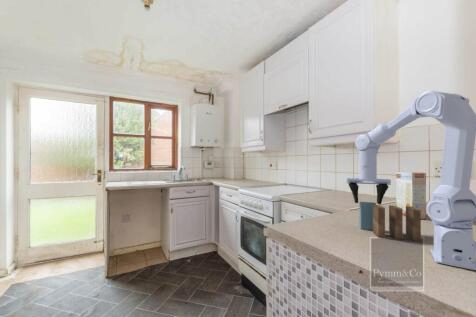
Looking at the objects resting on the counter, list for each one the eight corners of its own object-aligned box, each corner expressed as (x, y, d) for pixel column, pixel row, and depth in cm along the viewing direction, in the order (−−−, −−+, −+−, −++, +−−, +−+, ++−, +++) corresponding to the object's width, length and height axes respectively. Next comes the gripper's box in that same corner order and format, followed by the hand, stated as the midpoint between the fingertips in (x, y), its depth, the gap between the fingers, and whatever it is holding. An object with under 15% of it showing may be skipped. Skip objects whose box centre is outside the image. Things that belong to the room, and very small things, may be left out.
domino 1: (376, 230, 80) (376, 203, 80) (360, 229, 81) (361, 202, 81) (374, 229, 82) (374, 202, 82) (359, 227, 83) (359, 201, 83)
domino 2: (379, 233, 77) (379, 204, 77) (385, 238, 72) (385, 207, 72) (373, 232, 77) (372, 204, 77) (378, 237, 72) (378, 207, 73)
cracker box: (427, 219, 97) (426, 172, 97) (411, 219, 98) (411, 172, 98) (409, 212, 110) (409, 171, 111) (395, 212, 112) (395, 171, 112)
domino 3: (395, 234, 75) (395, 205, 76) (402, 239, 71) (402, 208, 71) (389, 234, 76) (389, 205, 76) (395, 238, 71) (395, 208, 71)
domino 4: (412, 236, 74) (412, 206, 74) (420, 241, 69) (420, 209, 70) (405, 235, 75) (405, 206, 75) (413, 240, 70) (413, 209, 70)
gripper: (385, 167, 84) (385, 202, 84) (344, 166, 88) (344, 200, 87) (393, 167, 77) (393, 206, 77) (348, 166, 81) (348, 203, 81)
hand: (367, 203), depth 82 cm, fingers open, 7 cm apart
